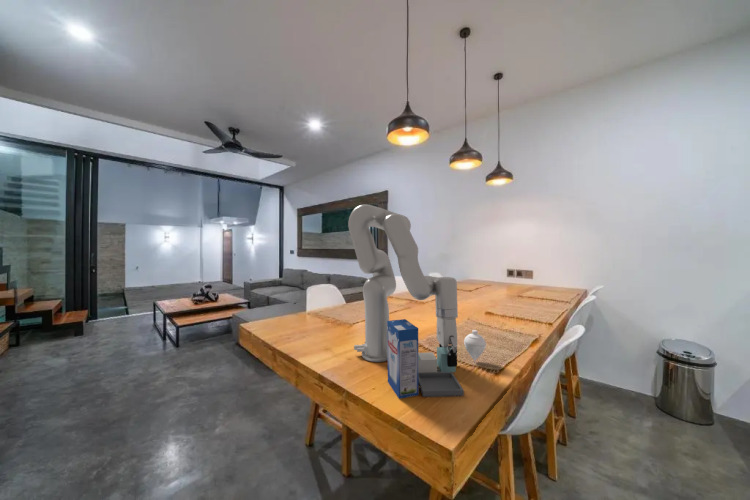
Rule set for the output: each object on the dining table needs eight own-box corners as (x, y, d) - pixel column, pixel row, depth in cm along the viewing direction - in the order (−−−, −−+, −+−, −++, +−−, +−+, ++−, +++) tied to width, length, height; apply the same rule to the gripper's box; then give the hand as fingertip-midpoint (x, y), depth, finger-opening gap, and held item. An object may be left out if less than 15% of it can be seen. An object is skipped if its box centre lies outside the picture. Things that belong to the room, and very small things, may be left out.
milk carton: (418, 395, 80) (418, 328, 79) (399, 399, 78) (398, 330, 77) (405, 378, 89) (405, 318, 89) (387, 381, 88) (387, 320, 87)
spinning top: (461, 357, 105) (461, 327, 105) (481, 357, 105) (481, 327, 104) (467, 366, 97) (467, 333, 97) (489, 367, 97) (489, 334, 97)
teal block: (441, 372, 94) (441, 354, 93) (436, 364, 100) (436, 347, 99) (455, 372, 94) (455, 353, 93) (450, 364, 100) (450, 346, 99)
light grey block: (414, 373, 93) (414, 359, 93) (411, 365, 99) (411, 352, 99) (440, 372, 93) (440, 359, 93) (436, 364, 99) (436, 352, 99)
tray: (422, 397, 79) (422, 391, 79) (415, 378, 90) (415, 372, 90) (463, 396, 79) (463, 390, 79) (451, 377, 90) (451, 371, 90)
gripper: (430, 307, 104) (431, 351, 105) (443, 319, 87) (444, 372, 87) (449, 306, 105) (450, 350, 105) (466, 318, 87) (467, 370, 88)
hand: (447, 360), depth 96 cm, fingers open, 9 cm apart
